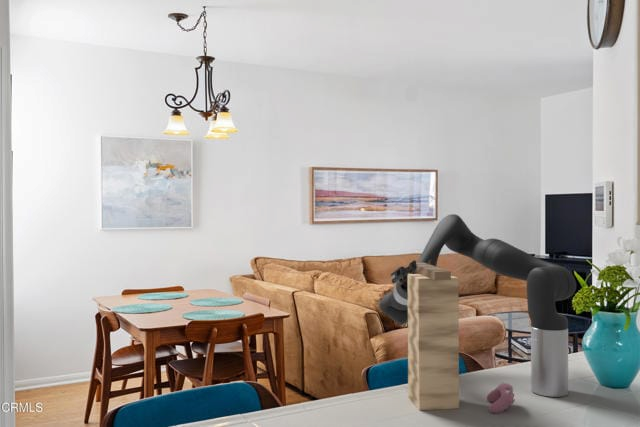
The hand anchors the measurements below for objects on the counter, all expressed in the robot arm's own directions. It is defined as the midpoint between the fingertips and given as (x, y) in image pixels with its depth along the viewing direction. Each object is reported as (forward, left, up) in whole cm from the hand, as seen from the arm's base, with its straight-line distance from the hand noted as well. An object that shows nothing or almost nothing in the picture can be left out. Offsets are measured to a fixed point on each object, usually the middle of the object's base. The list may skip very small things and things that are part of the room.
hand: (423, 263), depth 160 cm
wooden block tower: (+6, +5, -34) cm, 35 cm away
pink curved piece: (+1, +20, -35) cm, 40 cm away
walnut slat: (+4, +3, -2) cm, 5 cm away
